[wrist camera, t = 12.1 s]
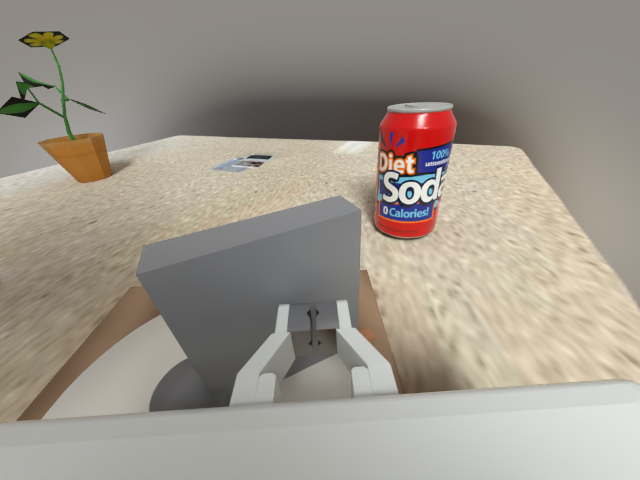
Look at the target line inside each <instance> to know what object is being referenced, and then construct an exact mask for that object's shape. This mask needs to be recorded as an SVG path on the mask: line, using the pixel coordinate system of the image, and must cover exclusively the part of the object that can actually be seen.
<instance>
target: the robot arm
mask: <svg viewBox="0 0 640 480" xmlns="http://www.w3.org/2000/svg"><path fill="white" fill-rule="evenodd" d="M316 330H317V340H318V348H319V355H327V354H337V355H338V356H339V358H340V359H341V361H342V362H343V363H344V365H345V366H346V368H347V369H348V371H349V372H350V373H351V398H340V399H326V400H312V401H298V402H284V401H283V398H282V395H281V391H280V388H279V385H280V384H281V382H282V380H283V378H284V377H285V375H286V373H287V372H288V370H289V368H290V367H291V365H292V363H293V362H294V360H295V357H301V356H311V355H313V319H312V314H311V303H296V304H280V305H279V307H278V314H277V321H276V328H275V333H273V334H271V335H270V336H269V337H268V339H267V340H266V341H265V342H264V343H263V344H262V346H261V347H260V348H259V349H258V350H257V351H256V353H255V354H254V355H253V356H252V357H251V359H250V360H249V361H248V362H247V363H246V364H245V366H244V367H243V368H242V369H241V370H240V371H239V373H238V374H237V377H236V381H235V385H234V389H233V393H232V397H231V401H230V405H229V406H228V407H213V408H199V409H185V410H171V411H156V412H142V413H128V414H113V415H99V416H84V417H70V418H56V419H41V420H26V421H12V422H6V423H3V424H0V480H640V384H638V383H636V382H634V381H631V380H625V379H610V380H595V381H581V382H567V383H553V384H539V385H525V386H511V387H496V388H482V389H468V390H454V391H440V392H426V393H411V394H399V393H398V389H397V386H396V382H395V379H394V375H393V372H392V368H391V365H390V363H389V362H388V361H387V360H386V359H385V358H384V357H383V356H382V355H381V354H380V353H379V352H378V351H377V350H376V349H375V348H374V347H373V346H372V345H371V344H370V343H369V342H368V341H367V339H366V338H365V337H364V336H363V335H362V334H361V333H360V332H359V331H358V330H357V329H356V328H352V326H351V320H350V314H349V309H348V303H347V300H335V301H323V302H316Z"/></svg>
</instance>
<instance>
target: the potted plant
mask: <svg viewBox="0 0 640 480" xmlns="http://www.w3.org/2000/svg"><path fill="white" fill-rule="evenodd" d="M68 39H69V38H68V37H66V36H65V35H64V34H62V33H61V32H32V33H30V34H28V35H26V36H25V37H23V38H21V39H19V41H21V42H22V43H24V44H26V45H28V46H30V47H47V48H49V49H51V51H52V53H53V56H54V58H55V61H56V63H57V66H58V70H59V75H60V80H61V91H60V90H59V89H58V88H57V87H56V86H55V85H54V86H52V85H48V84H45V83H42V82H38V81H36V80H34V79H32V78H30V77H28V76H25V75H23V74H21V73H19V74H20V76H21V77H22V79H23V81H24V82H16V83H17V87H18V90H19V93H20V96H21V99H19V98H15V97H11V98H10V99H9V100H8V101H7V102H6V103H5V104H4V105H3V106H2V107H1V108H0V114H6V115H12V116H18V117H24V118H25V117H26V116H27V115H28V114H29V113H30V112H31V111H32V110H33V109H34V108H35V107H36V106H38V105H39V104H40V105H42V106H43V107H45V108H47V109H49V110H51V111H52V112H54V113H55V114H57V115H59V116H61V117H62V118H64V121H65V126H66V130H67V134H68V135H69V136H65V137H59V138H54V139H49V140H45V141H42V142H39V143H38V144H39V145H40V146H41V147H42V148H43V149H44V150H46V151H47V152H48V153H49V154H50V155H51V156H52V157H53V158H54V159H55V160H56V161H57V162H58V163H59V164H60V165H61V166H62V167H63V168H64V169H65V170H66V171H67V172H69V173H70V174H71V175H72V176H73V177H74V178H75V179H76V180H77V181H78V182H81V183H85V182H94V181H98V180H101V179H105V178H107V177H109V176H112V173H111V168H110V164H109V159H108V154H107V150H106V145H105V141H104V136H103V134H102V133H87V134H79V135H72V133H71V130H70V127H69V123H68V120H67V117H66V107H65V101H69V99H68V98H67V97H66V96H65V95H64V82H63V78H62V73H61V69H60V65H59V63H58V61H57V58H56V56H55V54H54V52H53V50H52V49H53V47H54V46H57V45H59V44H61V43H63V42H65V41H66V40H68ZM39 86H44V87H46V88H47V89H49V88H53V87H56V89H57V90H58V91H59V92H60V93H61V95H62V97H61V98H62V99H61V101H62V107H63V115H61V114H60V113H58V112H56V111H54V110H52V109H50V108H49V107H47V106H45V105H43V104H41V103H40V102H39V101H38V100H37V98H36V97H35V96H34V95H33V93H32V92H31V91H30V90H29V88H30V87H39ZM27 89H28V90H29V91H30V93H31V94H32V96H33V97H34V98H35V100H36V101H37V102H33V101H28V100H25V95H26V91H27ZM72 101H74V100H72ZM74 102H76V103H78V104H81V105H83V106H84V107H87V108H89V109H92V110H95V111H98V112H101V111H99V110H97V109H95V108H93V107H90V106H88V105H86V104H83V103H80V102H77V101H74ZM102 113H103V112H102Z"/></svg>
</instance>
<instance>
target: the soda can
mask: <svg viewBox="0 0 640 480" xmlns="http://www.w3.org/2000/svg"><path fill="white" fill-rule="evenodd" d="M452 107H453V104H450V103H439V102H426V103H408V104H398V105H392V106H389V107H388V108H387V110H388V112H387V114H386V116H385V117H384V119H383V120H382V122H381V124H380V131H379V147H378V164H377V181H376V197H375V214H374V222H375V225H376V226H377V228H378V229H379V230H381V231H382V232H384V233H386V234H388V235H391V236H393V237H397V238H404V239H410V238H418V237H422V236H425V235H427V234H429V233H430V232H431V231H432V230H433V229H434V227H435V223H436V219H437V214H438V209H439V205H440V200H441V195H442V191H443V186H444V182H445V177H446V172H447V168H448V163H449V158H450V154H451V149H452V144H453V139H454V134H455V130H456V125H457V122H456V119H455V117H454V115H453V113H452V110H451V109H452Z"/></svg>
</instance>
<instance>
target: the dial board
mask: <svg viewBox="0 0 640 480" xmlns="http://www.w3.org/2000/svg"><path fill="white" fill-rule="evenodd" d="M159 315H161V314H160V313H159V311H158V309H157V308H156V306H155V305H154V303H153V301H152V300H151V298H150V297H149V295H148V293H147V292H146V290H145V289H144V287H131V288H130V289H129V290H128V291H127V293H126V294H125V295H124V296H123V297H122V298H121V300H120V301H119V302H118V303H117V304H116V305H115V307H114V308H113V309H112V310H111V311H110V312H109V314H108V315H107V316H106V317H105V318H104V319H103V321H102V322H101V323H100V324H99V325H98V326H97V328H96V329H95V330H94V331H93V332H92V333H91V335H90V336H89V337H88V338H87V339H86V340H85V341H84V343H83V344H82V345H81V346H80V347H79V348H78V350H77V351H76V352H75V353H74V354H73V355H72V357H71V358H70V359H69V360H68V361H67V362H66V364H65V365H64V366H63V367H62V368H61V369H60V371H59V372H58V373H57V374H56V375H55V376H54V378H53V379H52V380H51V381H50V382H49V383H48V385H47V386H46V387H45V388H44V389H43V390H42V392H41V393H40V394H39V395H38V396H37V397H36V399H35V400H34V401H33V402H32V403H31V404H30V405H29V407H28V408H27V409H26V410H25V411H24V412H23V414H22V415H21V416H20V417H19V418H18V419H17V421H26V420H41V419H42V418H43V416H44V415H45V414H46V413H47V412H48V410H49V409H50V408H51V407H52V406H53V404H54V403H55V402H56V401H57V400H58V398H59V397H60V396H61V395H62V394H63V392H64V391H65V390H66V389H67V388H68V387H69V386H70V385H71V384H72V383H73V382H74V381H75V380H76V379H77V378H78V377H79V376H80V375H81V374H82V373H83V372H84V371H85V370H86V369H87V368H88V367H89V366H90V365H91V364H92V363H93V362H95V361H96V360H97V359H98V358H99V357H100V356H101V355H103V354H104V353H105V352H106V351H107V350H109V349H110V348H111V347H112V346H113V345H115V344H116V343H117V342H119V341H120V340H121V339H123V338H124V337H126V336H127V335H128V334H130V333H131V332H133V331H134V330H136V329H137V328H139V327H140V326H142V325H144V324H145V323H147V322H148V321H150V320H152V319H154V318H156V317H157V316H159ZM358 331H359V332H360V333H361V334H362V335H363V336H364V337H365V338H366V339H367V341H368V342H369V343H370V344H371V345H372V346H373V347H374V348H375V349H376V350H377V351H378V352H379V353H380V354H381V355H382V356H383V357H384V358H385V359H386V360H387V361H388V362H389V363H390V365H391V368H392V372H393V375H394V379H395V382H396V386H397V389H398V393H399V394H404V392H403V388H402V385H401V382H400V378H399V375H398V372H397V368H396V365H395V362H394V358H393V355H392V352H391V349H390V345H389V342H388V339H387V335H386V332H385V329H384V325H383V322H382V319H381V315H380V312H379V309H378V306H377V302H376V299H375V296H374V292H373V289H372V286H371V282H370V279H369V276H368V272H367V270H360V278H359V315H358Z"/></svg>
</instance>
